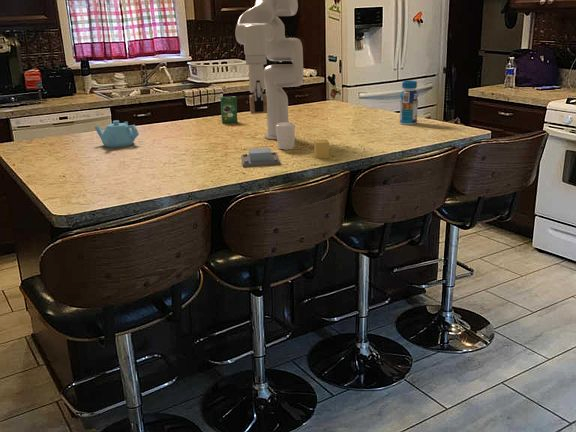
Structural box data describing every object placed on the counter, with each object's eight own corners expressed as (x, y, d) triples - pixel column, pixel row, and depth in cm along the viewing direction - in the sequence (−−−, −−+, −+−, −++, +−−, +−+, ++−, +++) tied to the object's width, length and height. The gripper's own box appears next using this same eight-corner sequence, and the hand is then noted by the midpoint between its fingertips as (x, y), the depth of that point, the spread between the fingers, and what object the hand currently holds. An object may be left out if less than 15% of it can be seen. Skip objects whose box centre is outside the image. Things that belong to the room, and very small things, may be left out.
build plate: (241, 158, 237) (240, 147, 236) (276, 155, 238) (276, 145, 237) (242, 166, 224) (242, 155, 223) (280, 164, 225) (279, 153, 224)
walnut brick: (250, 111, 228) (249, 95, 226) (266, 110, 228) (265, 94, 226) (251, 113, 222) (250, 97, 220) (267, 113, 223) (266, 96, 221)
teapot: (107, 150, 259) (103, 125, 255) (96, 144, 271) (92, 120, 267) (141, 145, 267) (138, 120, 263) (129, 139, 279) (126, 116, 275)
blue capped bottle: (396, 122, 294) (397, 80, 288) (411, 121, 297) (413, 79, 290) (404, 125, 287) (405, 82, 280) (420, 124, 289) (422, 81, 282)
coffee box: (237, 121, 313) (235, 95, 309) (238, 122, 311) (236, 96, 306) (221, 122, 312) (219, 96, 307) (222, 123, 309) (220, 97, 305)
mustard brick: (314, 155, 238) (314, 140, 236) (327, 154, 238) (326, 139, 236) (316, 158, 233) (316, 143, 231) (329, 157, 233) (329, 142, 231)
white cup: (279, 150, 247) (278, 126, 243) (274, 147, 254) (273, 123, 251) (297, 149, 249) (297, 124, 245) (292, 145, 256) (291, 121, 252)
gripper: (244, 58, 227) (247, 107, 233) (246, 62, 211) (249, 114, 216) (264, 57, 228) (266, 106, 233) (268, 61, 211) (270, 113, 217)
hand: (258, 109), depth 225 cm, fingers closed on walnut brick, 6 cm apart
